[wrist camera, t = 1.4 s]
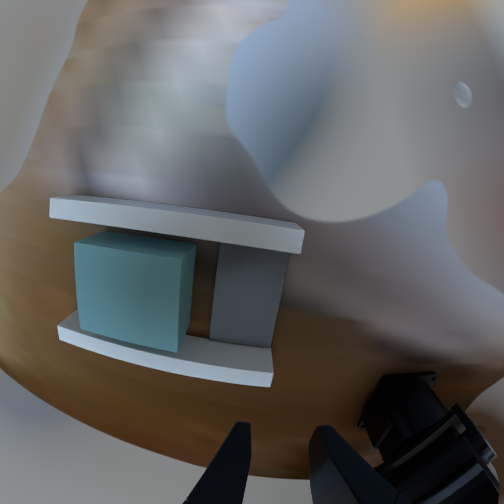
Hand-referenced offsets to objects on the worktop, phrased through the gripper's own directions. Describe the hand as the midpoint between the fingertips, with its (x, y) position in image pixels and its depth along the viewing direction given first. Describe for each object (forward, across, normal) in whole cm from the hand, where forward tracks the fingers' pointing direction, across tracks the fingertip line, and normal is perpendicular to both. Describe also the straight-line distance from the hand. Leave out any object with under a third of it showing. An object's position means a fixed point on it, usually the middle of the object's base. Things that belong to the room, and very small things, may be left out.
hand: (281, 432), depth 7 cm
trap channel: (+11, +6, 0) cm, 13 cm away
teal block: (+11, +8, 0) cm, 14 cm away
